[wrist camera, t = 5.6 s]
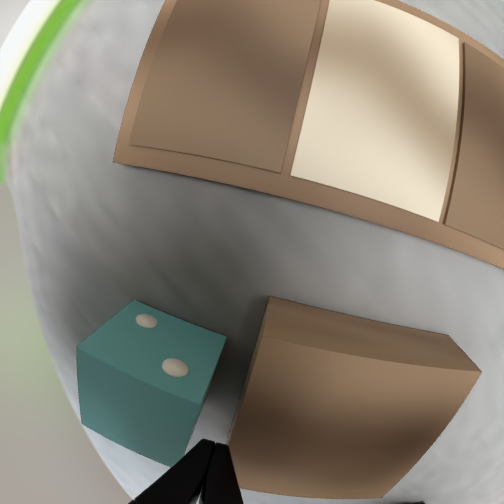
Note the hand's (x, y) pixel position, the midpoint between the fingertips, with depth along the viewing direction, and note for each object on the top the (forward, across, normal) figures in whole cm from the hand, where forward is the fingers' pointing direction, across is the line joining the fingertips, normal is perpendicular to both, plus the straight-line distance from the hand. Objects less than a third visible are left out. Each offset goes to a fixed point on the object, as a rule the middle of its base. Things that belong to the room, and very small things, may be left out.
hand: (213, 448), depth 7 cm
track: (+4, -6, -12) cm, 14 cm away
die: (+2, +1, 0) cm, 2 cm away
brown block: (+4, -4, 0) cm, 6 cm away
